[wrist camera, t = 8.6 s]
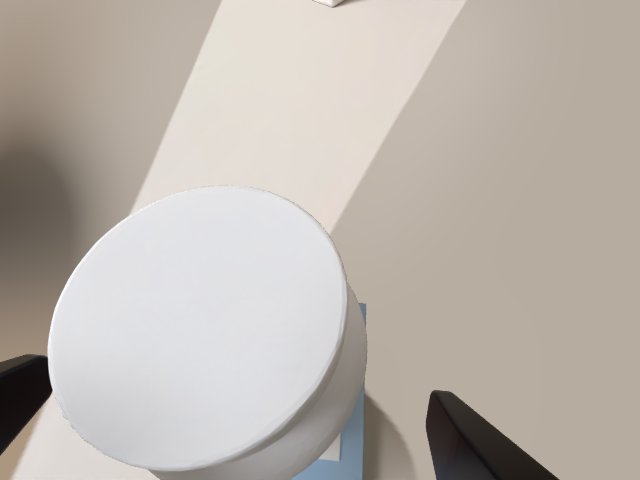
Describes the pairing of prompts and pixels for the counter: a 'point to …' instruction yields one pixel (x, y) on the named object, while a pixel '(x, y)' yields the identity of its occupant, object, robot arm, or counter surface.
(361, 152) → the counter surface
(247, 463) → the pill bottle
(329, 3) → the medicine bottle
